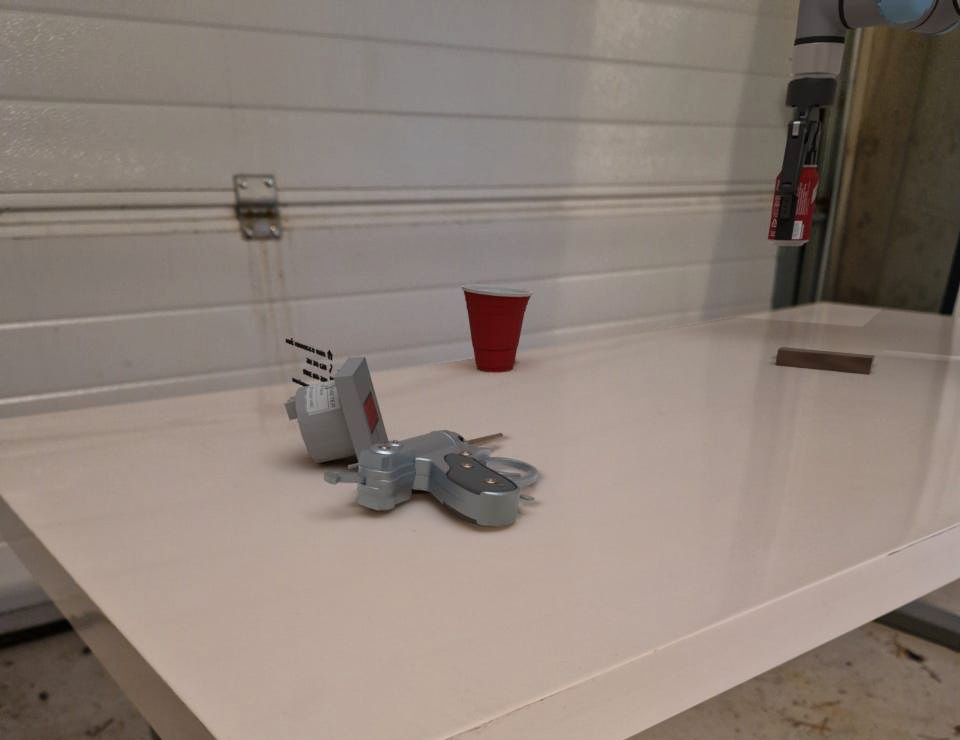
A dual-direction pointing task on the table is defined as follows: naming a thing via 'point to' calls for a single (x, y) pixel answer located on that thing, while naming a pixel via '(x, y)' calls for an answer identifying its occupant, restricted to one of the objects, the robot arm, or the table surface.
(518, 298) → the plastic cup
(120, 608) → the table surface
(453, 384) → the table surface
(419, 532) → the table surface
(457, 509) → the grey metal jointed piece
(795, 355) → the walnut stick
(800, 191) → the soda can
